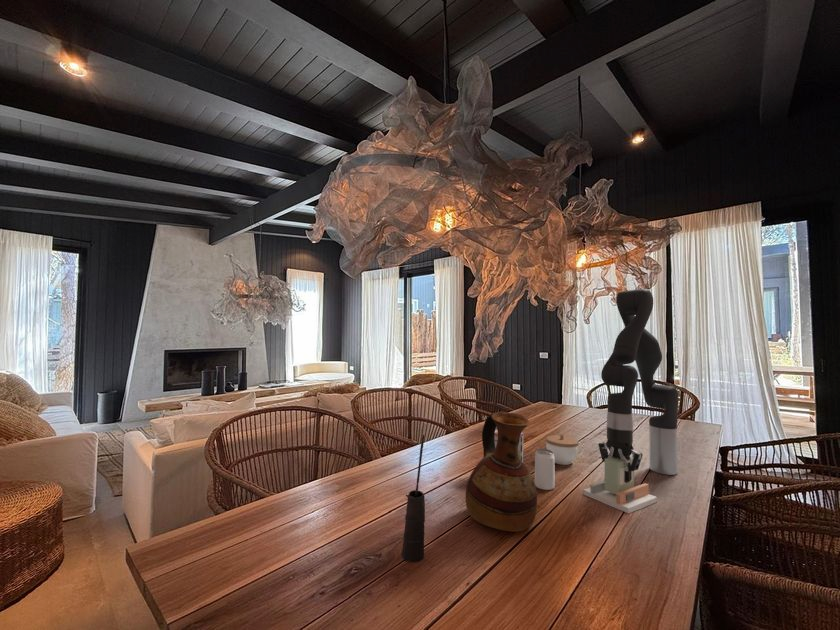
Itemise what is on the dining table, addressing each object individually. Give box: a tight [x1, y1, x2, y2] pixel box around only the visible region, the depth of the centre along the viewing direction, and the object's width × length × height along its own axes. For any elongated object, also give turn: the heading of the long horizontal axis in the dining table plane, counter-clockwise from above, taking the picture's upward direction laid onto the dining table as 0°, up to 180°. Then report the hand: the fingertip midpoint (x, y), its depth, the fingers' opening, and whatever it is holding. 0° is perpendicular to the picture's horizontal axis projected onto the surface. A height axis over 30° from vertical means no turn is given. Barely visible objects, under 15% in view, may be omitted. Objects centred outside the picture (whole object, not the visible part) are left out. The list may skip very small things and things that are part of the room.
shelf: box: [582, 479, 658, 514], centre depth 123 cm, size 16×15×4 cm
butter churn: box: [400, 434, 426, 563], centre depth 88 cm, size 9×10×28 cm
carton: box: [604, 457, 635, 494], centre depth 123 cm, size 4×9×10 cm, turn 121°
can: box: [534, 448, 556, 491], centre depth 131 cm, size 6×6×12 cm
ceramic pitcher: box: [465, 411, 538, 532], centre depth 107 cm, size 20×20×30 cm
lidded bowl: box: [545, 433, 579, 466], centre depth 157 cm, size 13×13×11 cm
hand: (619, 479), depth 123 cm, fingers closed on carton, 4 cm apart
